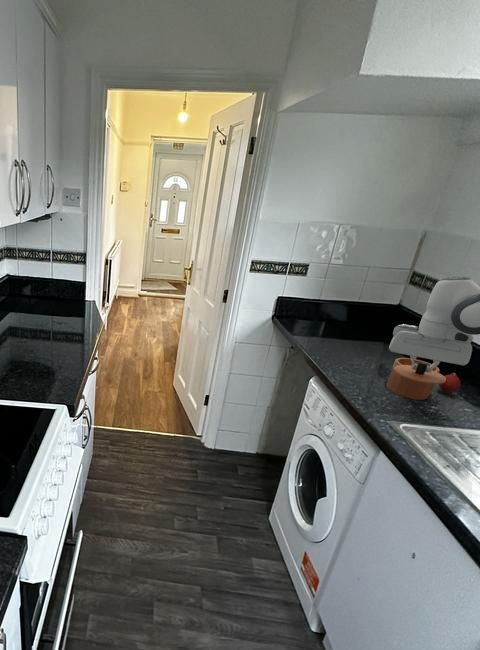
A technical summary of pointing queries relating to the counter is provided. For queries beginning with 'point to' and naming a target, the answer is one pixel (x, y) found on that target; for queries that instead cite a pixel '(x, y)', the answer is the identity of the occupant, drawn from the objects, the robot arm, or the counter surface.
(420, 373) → the lid
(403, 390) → the pot
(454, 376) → the onion
